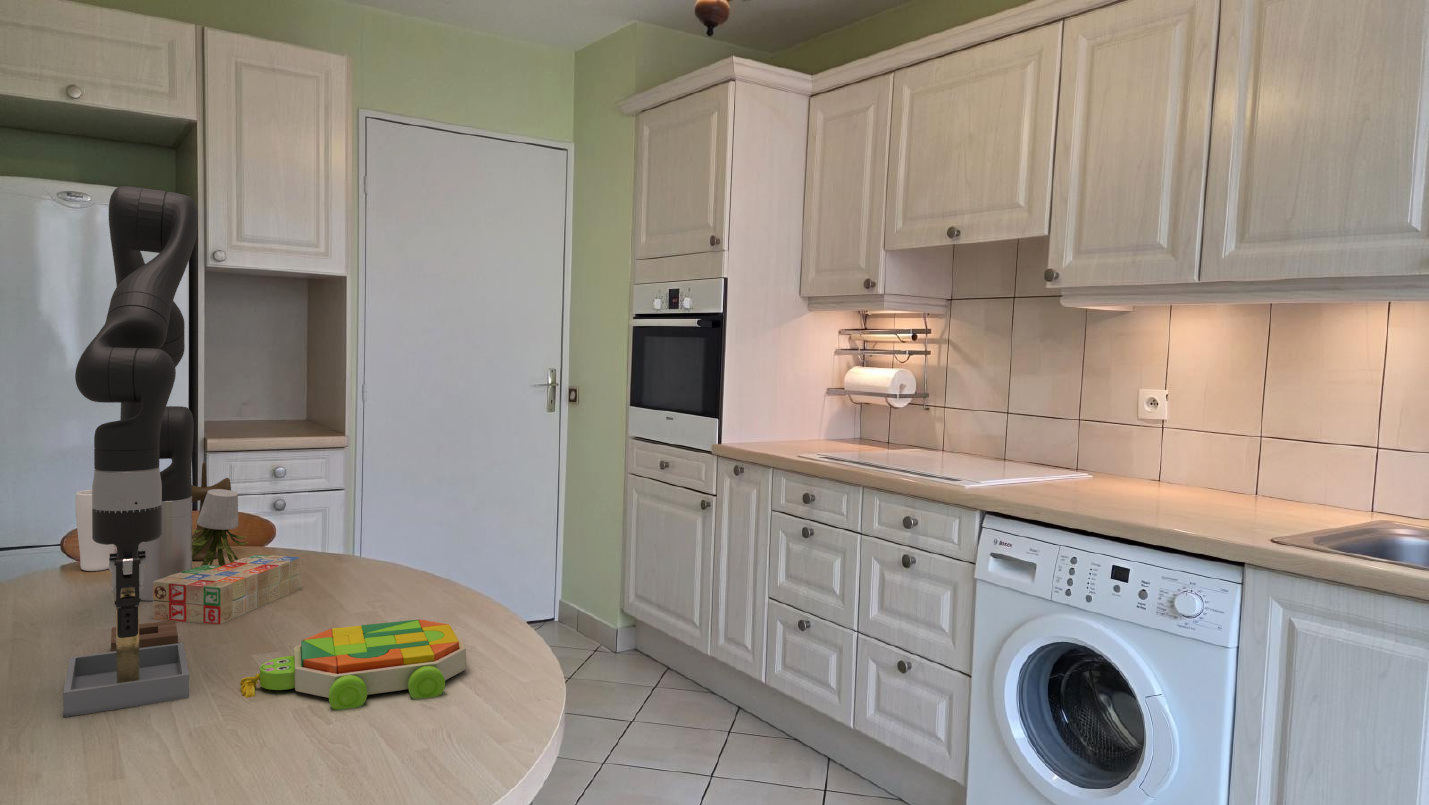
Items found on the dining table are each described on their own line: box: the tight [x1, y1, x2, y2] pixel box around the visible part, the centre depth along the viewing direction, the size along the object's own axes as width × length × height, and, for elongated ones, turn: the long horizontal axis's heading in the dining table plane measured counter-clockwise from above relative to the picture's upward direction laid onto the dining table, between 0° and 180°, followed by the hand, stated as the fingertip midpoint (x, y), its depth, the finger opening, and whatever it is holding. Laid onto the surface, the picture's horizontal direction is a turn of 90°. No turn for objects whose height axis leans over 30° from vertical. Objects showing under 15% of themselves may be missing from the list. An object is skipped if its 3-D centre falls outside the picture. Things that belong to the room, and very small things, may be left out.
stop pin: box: [115, 591, 140, 683], centre depth 117 cm, size 2×2×12 cm
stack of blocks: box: [152, 554, 301, 625], centre depth 155 cm, size 21×6×12 cm
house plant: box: [192, 489, 249, 566], centre depth 174 cm, size 14×14×16 cm
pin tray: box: [62, 642, 190, 718], centre depth 118 cm, size 14×13×3 cm
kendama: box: [192, 461, 232, 562], centre depth 184 cm, size 6×10×20 cm, turn 123°
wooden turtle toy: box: [239, 619, 467, 711], centre depth 123 cm, size 22×28×6 cm
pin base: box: [110, 620, 179, 652], centre depth 131 cm, size 8×8×3 cm
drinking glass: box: [75, 489, 116, 572], centre depth 175 cm, size 7×7×15 cm
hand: (127, 627), depth 117 cm, fingers open, 8 cm apart
